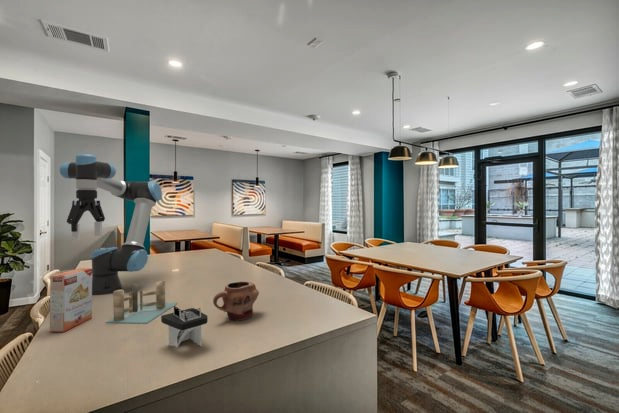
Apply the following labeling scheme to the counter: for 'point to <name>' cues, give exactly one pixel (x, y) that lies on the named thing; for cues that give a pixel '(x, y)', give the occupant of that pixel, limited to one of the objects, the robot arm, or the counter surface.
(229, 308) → the brown sculpted mug
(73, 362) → the counter surface
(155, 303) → the fence panel
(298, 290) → the counter surface
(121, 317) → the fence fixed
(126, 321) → the card
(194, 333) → the black-topped pedestal
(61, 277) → the cracker box
